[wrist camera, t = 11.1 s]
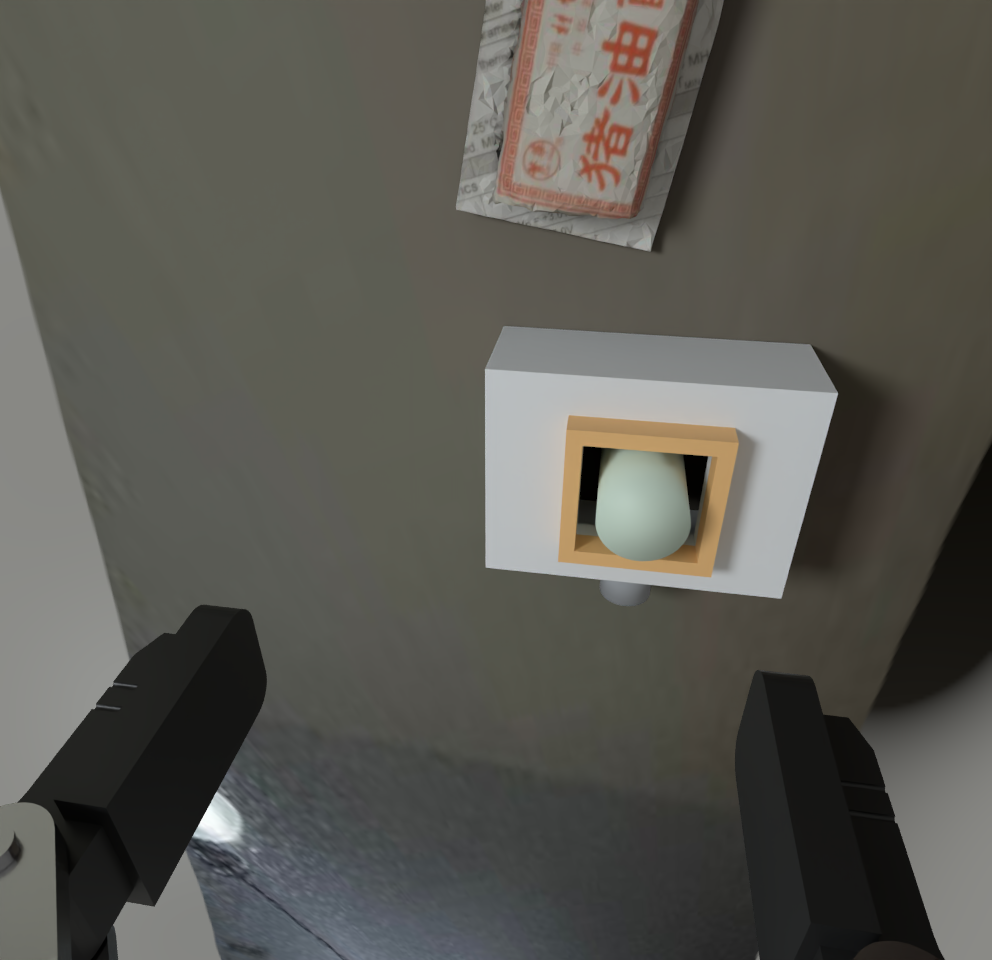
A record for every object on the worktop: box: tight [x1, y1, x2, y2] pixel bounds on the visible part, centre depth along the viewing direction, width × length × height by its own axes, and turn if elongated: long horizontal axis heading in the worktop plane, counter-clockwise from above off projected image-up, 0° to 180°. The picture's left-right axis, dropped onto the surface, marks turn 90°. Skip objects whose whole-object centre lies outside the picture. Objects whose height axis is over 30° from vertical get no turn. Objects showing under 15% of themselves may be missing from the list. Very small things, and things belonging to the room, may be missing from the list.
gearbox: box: [485, 326, 838, 606], centre depth 39 cm, size 15×16×8 cm
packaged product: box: [456, 0, 724, 251], centre depth 30 cm, size 18×5×10 cm
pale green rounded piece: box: [596, 447, 691, 561], centre depth 38 cm, size 4×4×9 cm
